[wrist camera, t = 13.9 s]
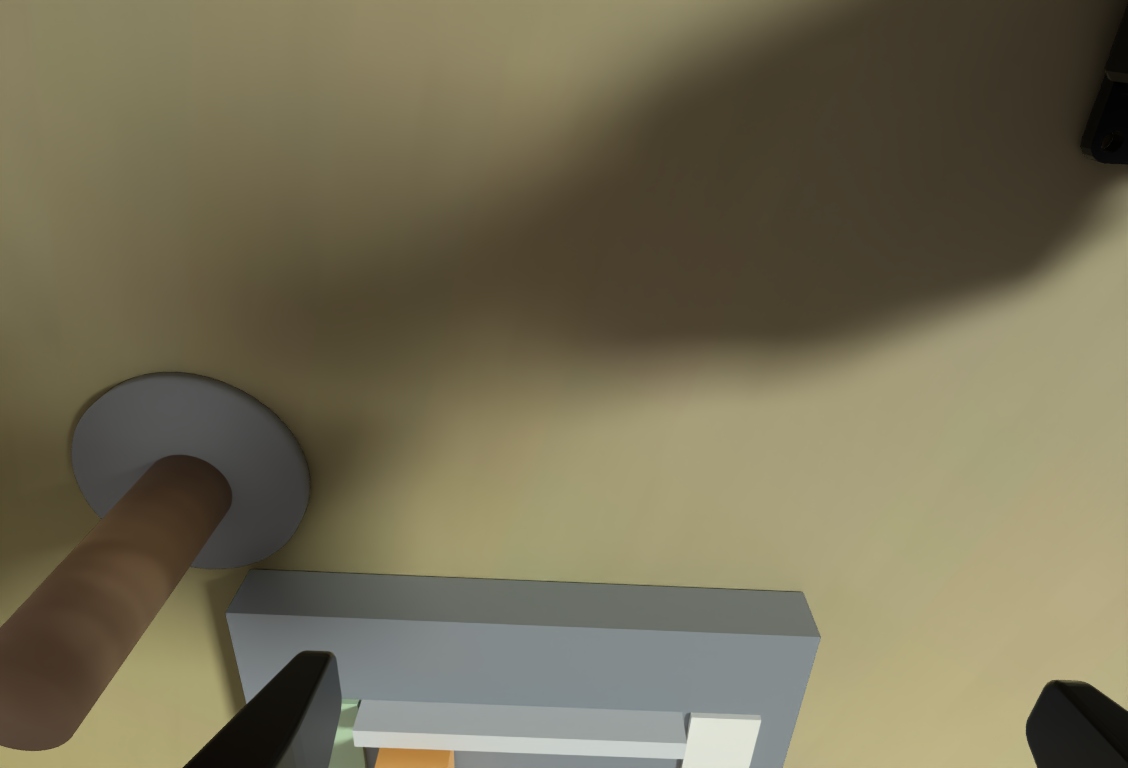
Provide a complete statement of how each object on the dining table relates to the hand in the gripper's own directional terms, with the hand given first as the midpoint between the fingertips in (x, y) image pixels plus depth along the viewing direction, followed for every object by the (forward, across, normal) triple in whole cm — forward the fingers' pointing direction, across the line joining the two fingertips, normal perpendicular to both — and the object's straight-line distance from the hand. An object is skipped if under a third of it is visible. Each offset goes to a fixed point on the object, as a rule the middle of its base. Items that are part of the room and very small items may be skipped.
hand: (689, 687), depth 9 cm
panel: (+12, +2, +16) cm, 21 cm away
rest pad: (+12, +13, +6) cm, 19 cm away
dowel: (+12, +13, +6) cm, 19 cm away
